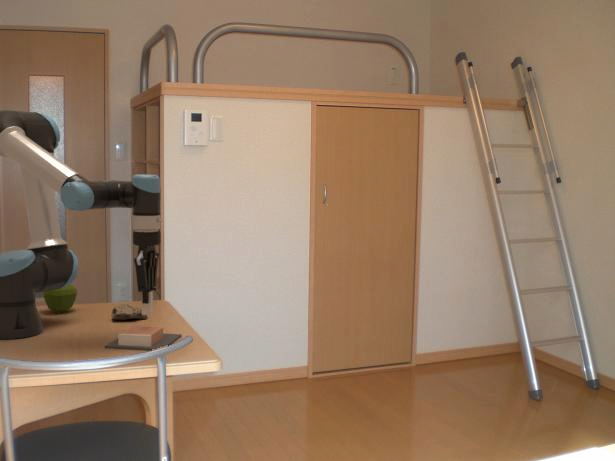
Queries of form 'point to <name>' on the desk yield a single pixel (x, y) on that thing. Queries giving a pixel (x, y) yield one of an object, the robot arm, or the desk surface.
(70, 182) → the robot arm
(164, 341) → the mat
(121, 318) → the rock
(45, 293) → the apple
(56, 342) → the desk surface
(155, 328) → the slab
